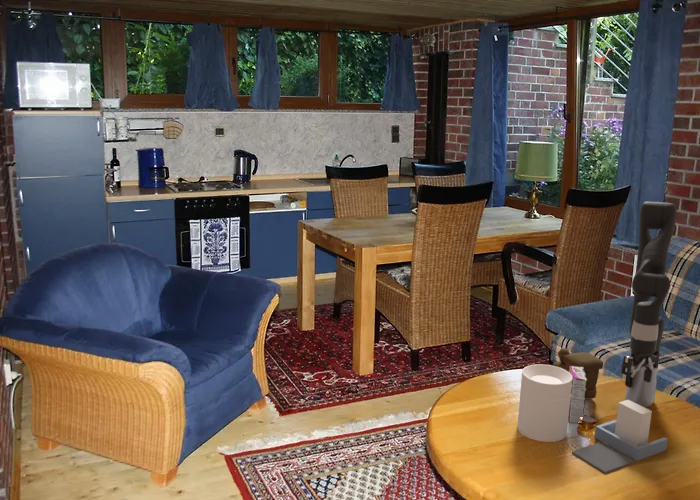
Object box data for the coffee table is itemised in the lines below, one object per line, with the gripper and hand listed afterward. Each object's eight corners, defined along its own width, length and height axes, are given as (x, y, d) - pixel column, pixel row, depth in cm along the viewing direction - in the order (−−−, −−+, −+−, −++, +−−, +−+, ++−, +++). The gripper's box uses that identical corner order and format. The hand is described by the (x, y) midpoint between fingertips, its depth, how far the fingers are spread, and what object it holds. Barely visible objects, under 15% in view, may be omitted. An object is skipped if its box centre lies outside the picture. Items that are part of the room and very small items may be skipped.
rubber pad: (600, 443, 221) (600, 441, 221) (634, 462, 210) (634, 460, 210) (571, 453, 215) (571, 451, 215) (605, 473, 204) (605, 471, 204)
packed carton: (623, 435, 226) (628, 399, 223) (646, 448, 219) (651, 411, 216) (614, 439, 224) (618, 402, 221) (637, 451, 217) (642, 414, 213)
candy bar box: (564, 408, 245) (569, 365, 241) (579, 409, 244) (583, 366, 240) (567, 422, 234) (572, 378, 230) (583, 424, 233) (588, 379, 229)
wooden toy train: (600, 403, 249) (605, 360, 245) (575, 408, 245) (580, 365, 241) (564, 381, 267) (568, 341, 263) (540, 385, 263) (544, 345, 259)
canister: (569, 424, 233) (575, 369, 228) (562, 446, 219) (568, 388, 214) (522, 414, 240) (527, 361, 235) (512, 434, 225) (517, 378, 221)
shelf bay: (623, 427, 232) (624, 416, 231) (666, 450, 218) (667, 438, 217) (594, 437, 225) (595, 426, 224) (636, 461, 211) (638, 449, 210)
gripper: (649, 328, 219) (642, 375, 223) (618, 335, 212) (612, 383, 216) (669, 336, 213) (663, 384, 217) (639, 343, 206) (632, 393, 210)
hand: (637, 384), depth 217 cm, fingers open, 8 cm apart
